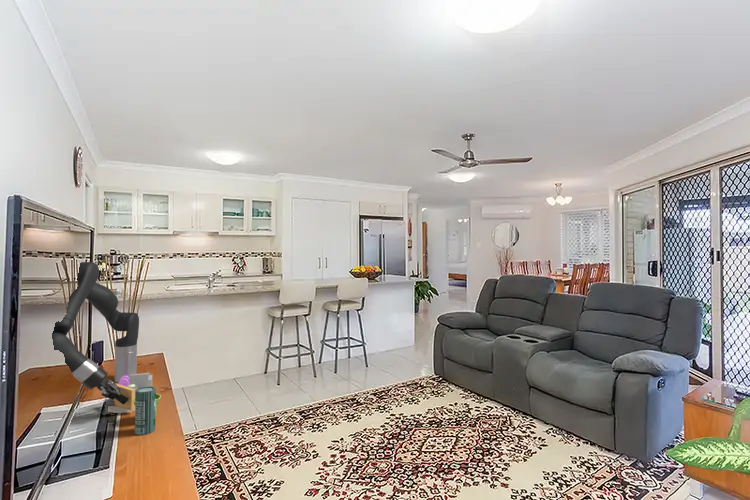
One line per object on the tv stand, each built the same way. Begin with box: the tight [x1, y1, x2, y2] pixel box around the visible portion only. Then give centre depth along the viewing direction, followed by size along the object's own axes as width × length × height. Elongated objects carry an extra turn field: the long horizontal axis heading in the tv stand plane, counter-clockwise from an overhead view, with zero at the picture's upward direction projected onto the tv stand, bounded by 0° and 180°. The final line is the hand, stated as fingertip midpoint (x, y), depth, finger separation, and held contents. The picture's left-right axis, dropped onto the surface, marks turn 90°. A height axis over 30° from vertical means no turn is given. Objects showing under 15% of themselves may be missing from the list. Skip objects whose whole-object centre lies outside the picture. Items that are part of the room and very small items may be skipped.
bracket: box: [117, 376, 130, 386], centre depth 184 cm, size 13×6×7 cm, turn 117°
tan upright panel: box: [105, 382, 135, 410], centre depth 162 cm, size 16×5×8 cm, turn 61°
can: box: [134, 385, 157, 436], centre depth 144 cm, size 6×6×15 cm
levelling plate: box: [106, 372, 153, 414], centre depth 170 cm, size 21×18×10 cm
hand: (125, 401), depth 158 cm, fingers closed
